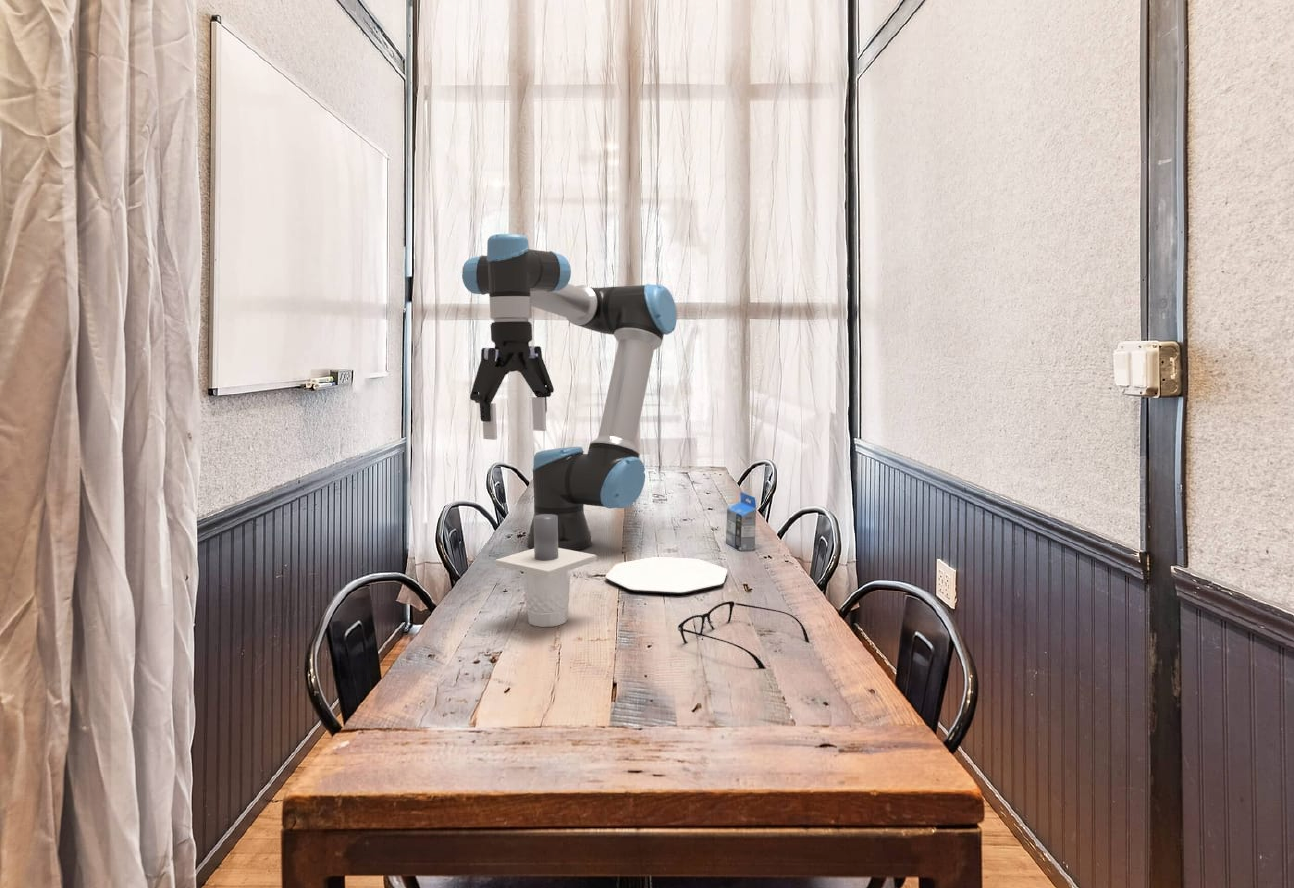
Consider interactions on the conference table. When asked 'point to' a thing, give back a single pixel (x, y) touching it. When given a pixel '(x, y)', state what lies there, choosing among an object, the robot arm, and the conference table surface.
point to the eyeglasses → (727, 623)
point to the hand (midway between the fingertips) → (516, 434)
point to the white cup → (547, 599)
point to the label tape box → (742, 524)
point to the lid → (546, 552)
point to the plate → (667, 575)
